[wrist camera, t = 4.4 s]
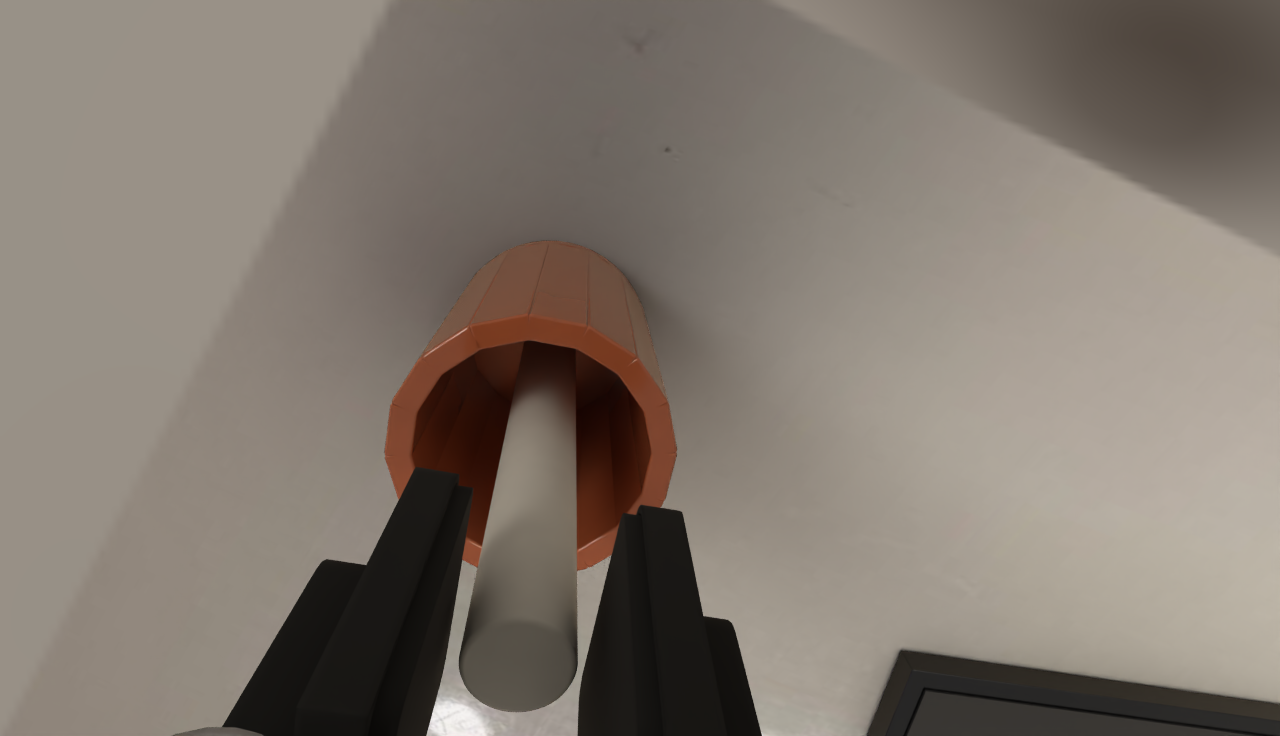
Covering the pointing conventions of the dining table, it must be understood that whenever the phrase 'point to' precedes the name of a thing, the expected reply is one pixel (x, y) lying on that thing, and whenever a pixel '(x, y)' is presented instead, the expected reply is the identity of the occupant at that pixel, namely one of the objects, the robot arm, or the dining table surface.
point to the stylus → (529, 547)
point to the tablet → (1050, 704)
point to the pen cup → (486, 377)
